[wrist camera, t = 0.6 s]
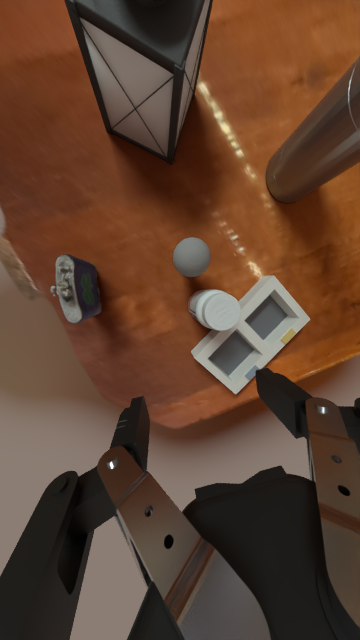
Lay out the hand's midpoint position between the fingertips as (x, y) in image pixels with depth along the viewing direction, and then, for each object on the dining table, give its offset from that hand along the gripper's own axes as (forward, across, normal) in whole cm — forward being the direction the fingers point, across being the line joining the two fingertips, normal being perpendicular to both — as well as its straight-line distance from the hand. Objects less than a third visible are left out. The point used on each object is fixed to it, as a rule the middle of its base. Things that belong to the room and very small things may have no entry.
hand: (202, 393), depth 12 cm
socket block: (+23, -14, +6) cm, 28 cm away
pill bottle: (+24, -6, -2) cm, 24 cm away
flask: (+23, +14, -9) cm, 29 cm away
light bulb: (+24, -4, -11) cm, 26 cm away
